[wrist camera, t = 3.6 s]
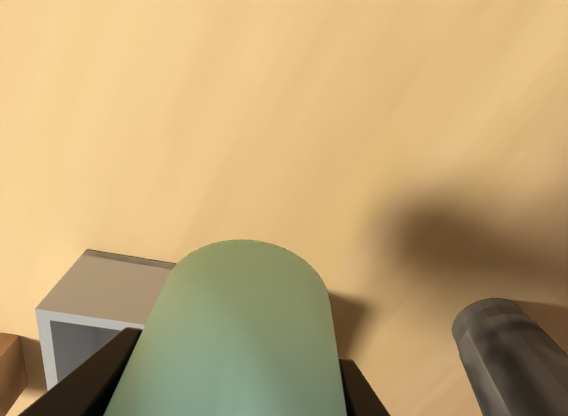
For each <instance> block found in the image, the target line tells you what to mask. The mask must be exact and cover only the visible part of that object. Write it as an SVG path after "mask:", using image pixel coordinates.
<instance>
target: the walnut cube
mask: <svg viewBox="0 0 568 416" xmlns="http://www.w3.org/2000/svg"><path fill="white" fill-rule="evenodd" d="M27 384H28V382H27V376H26V371H25V365H24V360H23V354H22V348H21V343H20V337H19V335H13V334H6V333H0V416H5V415H6V414H7V413H8V411H9V410H10V408H11V407H12V405H13V404H14V403H15V401H16V400H17V398H18V397H19V396H20V394H21V393H22V391H23V390H24V388H25V387H26V386H27Z"/></svg>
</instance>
